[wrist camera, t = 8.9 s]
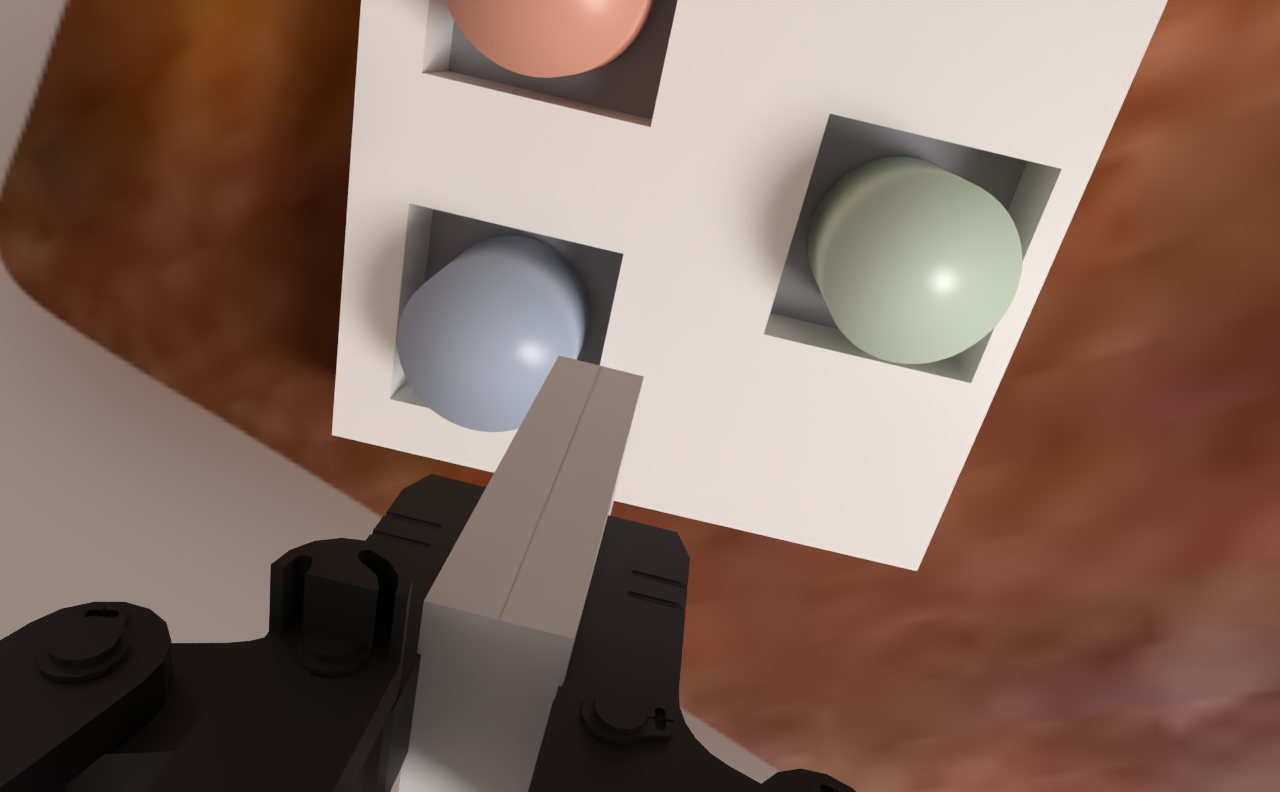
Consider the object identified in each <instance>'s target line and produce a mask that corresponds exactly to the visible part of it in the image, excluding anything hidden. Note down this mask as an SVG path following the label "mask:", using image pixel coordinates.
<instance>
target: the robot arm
mask: <svg viewBox="0 0 1280 792" xmlns="http://www.w3.org/2000/svg"><path fill="white" fill-rule="evenodd" d="M643 378H644V376H640V375H636V374H632V373H628V372H624V371H620V370H616V369H612V368H608V367H603V366H599V365H595V364H591V363H587V362H583V361H579V360H575V359H571V358H567V357H563V356H558V358H557V360H556V362H555V363H554V365H553V367H552V369H551V371H550V373H549V374H548V376H547V378H546V380H545V382H544V383H543V385H542V387H541V389H540V391H539V393H538V394H537V396H536V398H535V400H534V402H533V403H532V405H531V407H530V409H529V411H528V413H527V414H526V416H525V418H524V420H523V422H522V423H521V425H520V427H519V429H518V431H517V433H516V434H515V436H514V438H513V440H512V442H511V443H510V445H509V447H508V449H507V451H506V453H505V454H504V456H503V458H502V460H501V462H500V463H499V465H498V467H497V469H496V471H495V473H494V474H493V476H492V478H491V480H490V482H489V483H488V485H487V487H482V486H478V485H474V484H470V483H466V482H462V481H458V480H454V479H450V478H446V477H442V476H438V475H434V474H430V475H428V476H427V477H425V478H423V479H421V480H419V481H417V482H416V483H414V484H412V485H410V486H408V487H406V488H405V489H403V490H402V492H401V493H400V494H399V496H398V497H397V498H396V500H395V501H394V503H393V504H392V505H391V507H390V508H389V509H388V511H387V514H386V516H383V518H382V519H381V520H380V522H379V523H378V524H377V526H376V527H375V529H374V530H373V534H372V535H369V537H368V538H367V539H366V541H363V540H354V539H346V538H339V539H329V540H320V541H314V542H311V543H308V544H305V545H303V546H300V547H297V548H294V549H292V550H289V551H288V552H287V553H285V554H284V555H283V556H282V557H280V558H279V559H278V560H277V561H275V562H274V563H272V564H271V580H270V581H271V583H270V616H269V617H270V618H269V632H268V634H267V635H266V636H265V637H264V638H260V639H256V640H252V641H245V642H233V643H171V638H170V635H169V631H168V628H167V624H166V622H165V621H164V620H163V619H161V618H160V617H159V616H158V615H156V614H155V613H154V612H153V611H151V610H150V609H148V608H144V607H140V606H137V605H133V604H130V603H127V602H92V603H87V604H82V605H77V606H73V607H68V608H63V609H60V610H58V611H56V612H53V613H51V614H49V615H47V616H44V617H42V618H40V619H38V620H36V621H33V622H31V623H29V624H27V625H26V626H24V627H22V628H21V629H19V630H17V631H16V632H14V633H12V634H10V635H9V636H7V637H5V638H3V639H2V640H0V792H390V791H391V788H392V786H393V784H394V782H395V780H396V777H397V775H398V773H399V771H400V769H401V767H402V770H401V778H400V785H399V792H856V791H855V790H854V789H853V788H851V787H849V786H847V785H845V784H844V783H842V782H840V781H838V780H836V779H834V778H833V777H831V776H829V775H827V774H823V773H818V772H814V771H809V770H804V769H796V770H789V771H782V772H777V773H776V774H775V775H773V776H772V777H770V778H769V779H768V780H766V781H765V782H764V783H762V784H760V783H758V782H757V781H755V780H753V779H751V778H750V777H748V776H746V775H744V774H742V773H741V772H739V771H737V770H735V769H734V768H731V767H730V766H728V765H727V764H725V763H724V762H722V761H721V760H719V759H718V758H716V757H715V756H714V755H712V754H711V753H710V752H709V751H708V750H707V749H705V747H704V746H703V745H702V744H701V743H700V742H699V741H698V740H697V739H696V738H695V737H694V735H693V734H692V732H691V731H690V729H689V728H688V726H687V725H686V723H685V721H684V718H683V715H682V712H681V710H680V705H679V681H680V669H681V657H682V645H683V634H684V622H685V607H686V598H687V585H688V575H689V563H690V557H689V555H688V553H687V551H686V549H685V547H684V545H683V543H682V541H681V539H680V537H679V535H678V533H677V532H674V531H670V530H666V529H662V528H658V527H654V526H650V525H646V524H642V523H637V522H633V521H629V520H625V519H621V518H617V517H613V516H610V513H611V509H612V505H613V501H614V497H615V493H616V489H617V485H618V481H619V477H620V473H621V468H622V464H623V460H624V456H625V452H626V448H627V444H628V440H629V436H630V432H631V428H632V423H633V419H634V415H635V411H636V407H637V403H638V399H639V395H640V391H641V387H642V382H643Z"/></svg>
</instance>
